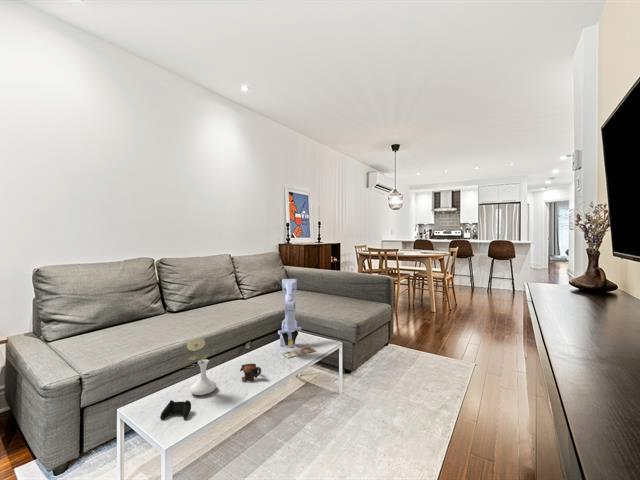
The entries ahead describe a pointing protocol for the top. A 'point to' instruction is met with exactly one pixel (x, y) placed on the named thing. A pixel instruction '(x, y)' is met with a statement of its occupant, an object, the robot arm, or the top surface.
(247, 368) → the pottery mug
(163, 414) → the gaming controller
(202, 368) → the flower in vase
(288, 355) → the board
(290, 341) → the ball
